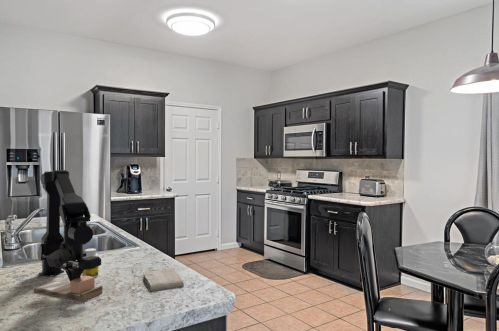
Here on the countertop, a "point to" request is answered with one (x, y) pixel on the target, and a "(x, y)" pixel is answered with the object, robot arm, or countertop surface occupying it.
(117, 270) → the countertop surface
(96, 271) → the supplement bottle
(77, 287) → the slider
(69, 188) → the robot arm
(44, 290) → the switch base
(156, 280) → the washcloth
